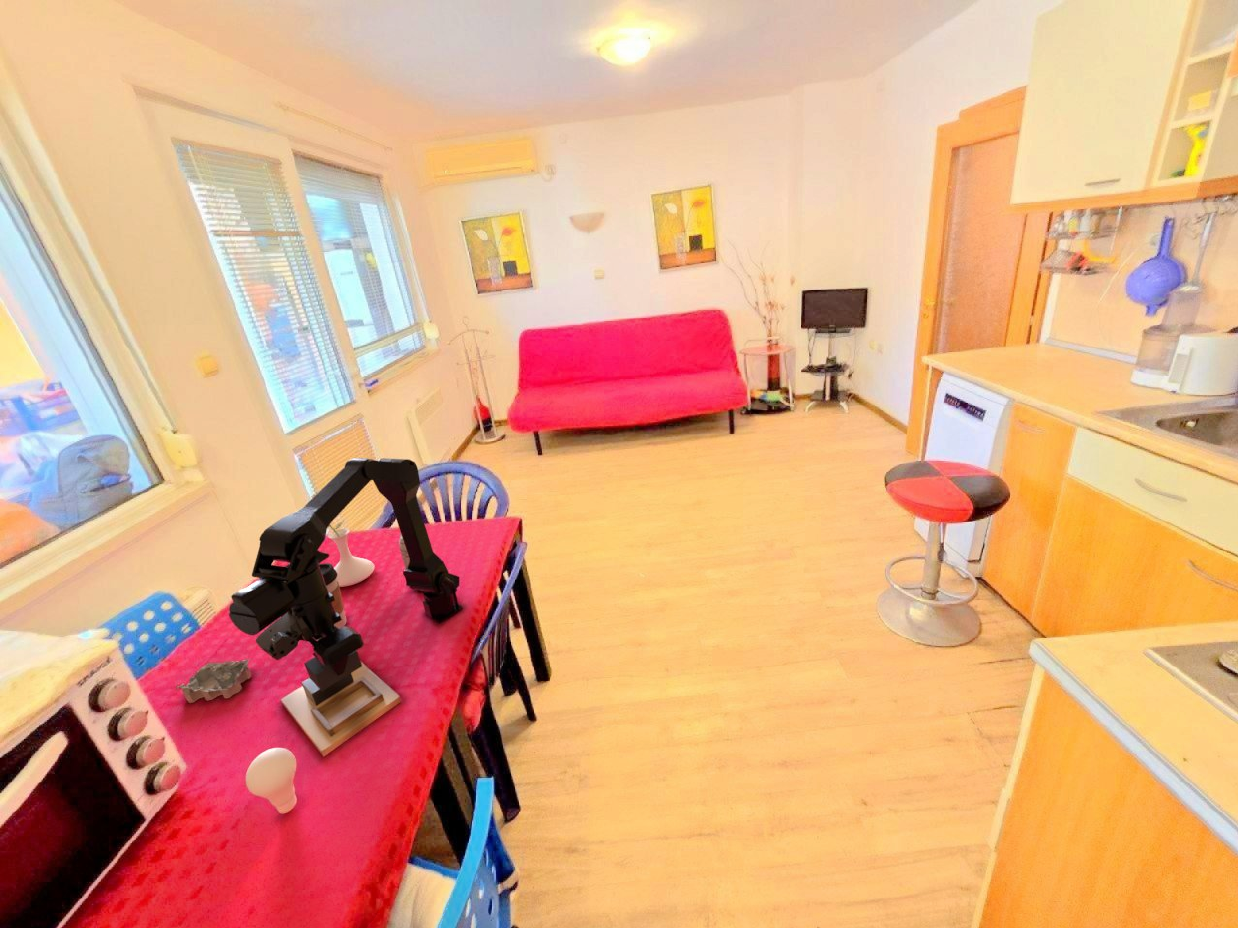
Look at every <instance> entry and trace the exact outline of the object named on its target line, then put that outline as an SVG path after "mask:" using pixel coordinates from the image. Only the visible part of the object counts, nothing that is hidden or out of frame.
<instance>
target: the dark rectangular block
mask: <svg viewBox="0 0 1238 928" xmlns="http://www.w3.org/2000/svg"><path fill="white" fill-rule="evenodd" d="M358 653H359V652H358V650H356V651H354V652H353V653H351V654H349V656H348V660H347V664H346V668H345V672H344V673H343V674H341V675H339V676H338V675H337V674H336V672H335V671H334V669H333V668H332V667H331V666H324V665H323V664H322V663H321V662H320V661H319V660H318V659H317V658H316V657H315V656H313V657H312V658H311V659H309V660H306V661H305V662H304V663H303V664H304V667H305V669H306V672H307V674H308V678H310V679H311V680H312V681H313V682H314V683H315V684H316V685H317V687H318V688H319V689H320V690H321V691H323V690H325V689H326V688H328V687H329V686H331V685H333V684H334V683H336V682H337V681H339V680H341V679H342V678H344V677H345V676H347V675H349V674H350V673H352V672H353V671H355V670H357V669H358V668H360V667H361V666H362V664H361V662H362V661H361V659H360V656H359V654H358Z"/></svg>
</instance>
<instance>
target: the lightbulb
mask: <svg viewBox="0 0 1238 928" xmlns="http://www.w3.org/2000/svg"><path fill="white" fill-rule="evenodd" d="M297 766H298V765H297V759H296V756H295V755H294V753H292V752H291V751H290V750H289V749H287V748H284V747H273V748H269V749H267V750H265V751H263V752H261V753H260V754H258V755H257V756H256V757H255V758H254V759H253V760H252V761H251V763H250V764H249V766H248V767H247V771H246V773H245V785H246V788H247V791H249V792H250V793H251V794H252V795H254V796H257V797H260V798H263V799H267V801H268V802H270V804H271V805H272V806H274V807H275V809H276V811H277V812H278V813H279V814H286V813H289V812H291V810H293V809H294V808H295V806H296V805H297V803H298V799H297V795H296V793H295V792H296V788H295V785H294V778H295V775H296V771H297Z"/></svg>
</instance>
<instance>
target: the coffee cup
mask: <svg viewBox="0 0 1238 928" xmlns="http://www.w3.org/2000/svg"><path fill="white" fill-rule="evenodd" d="M319 567H320V570H321V572H322V575H323V578H324V581H325V584H326V587H327V590H328V592H330V593H331V594H332V595H333V596H334V599H335V600H334V601H332V604H333V607H334V609H335V611H336V612H337V613H338V614H339V615H340V616H341V619H342V620H341V621H339V622H337V623H335V624H334V625H335V626H336V627H337V628H338V629H340V628H342V627H344V626H346V624H347V616H346V611H345V607H344V602H343V597H342V592H341V587H339V583H338V581H337V572H336V570H335V569H334V566H333V563H328V562H324V563H322V562H321V563H319Z"/></svg>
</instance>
